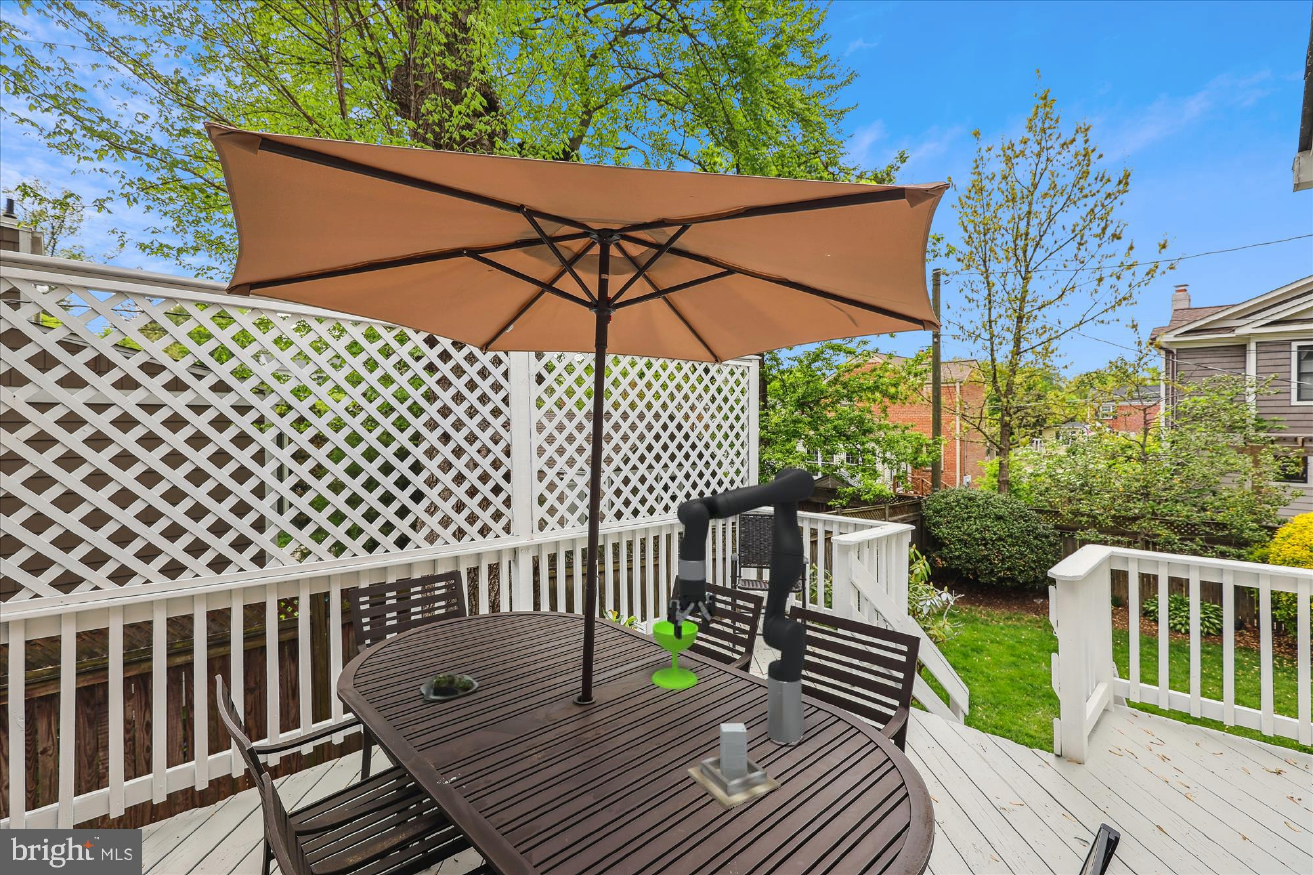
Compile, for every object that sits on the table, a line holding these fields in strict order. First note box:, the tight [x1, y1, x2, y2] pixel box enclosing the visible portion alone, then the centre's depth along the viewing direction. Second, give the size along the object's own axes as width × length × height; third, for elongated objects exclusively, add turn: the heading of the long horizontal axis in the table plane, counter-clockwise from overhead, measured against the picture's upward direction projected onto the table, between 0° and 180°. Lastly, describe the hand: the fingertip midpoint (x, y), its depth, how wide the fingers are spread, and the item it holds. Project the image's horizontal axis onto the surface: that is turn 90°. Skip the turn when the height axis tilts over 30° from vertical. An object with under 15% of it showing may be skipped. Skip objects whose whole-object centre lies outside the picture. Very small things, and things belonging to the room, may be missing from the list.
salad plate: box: [419, 673, 479, 703], centre depth 184 cm, size 19×18×5 cm
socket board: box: [687, 754, 782, 811], centre depth 135 cm, size 16×16×4 cm
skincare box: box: [719, 722, 748, 781], centre depth 135 cm, size 6×4×12 cm
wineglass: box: [651, 620, 699, 690], centre depth 194 cm, size 16×16×18 cm
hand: (691, 636), depth 150 cm, fingers open, 8 cm apart
